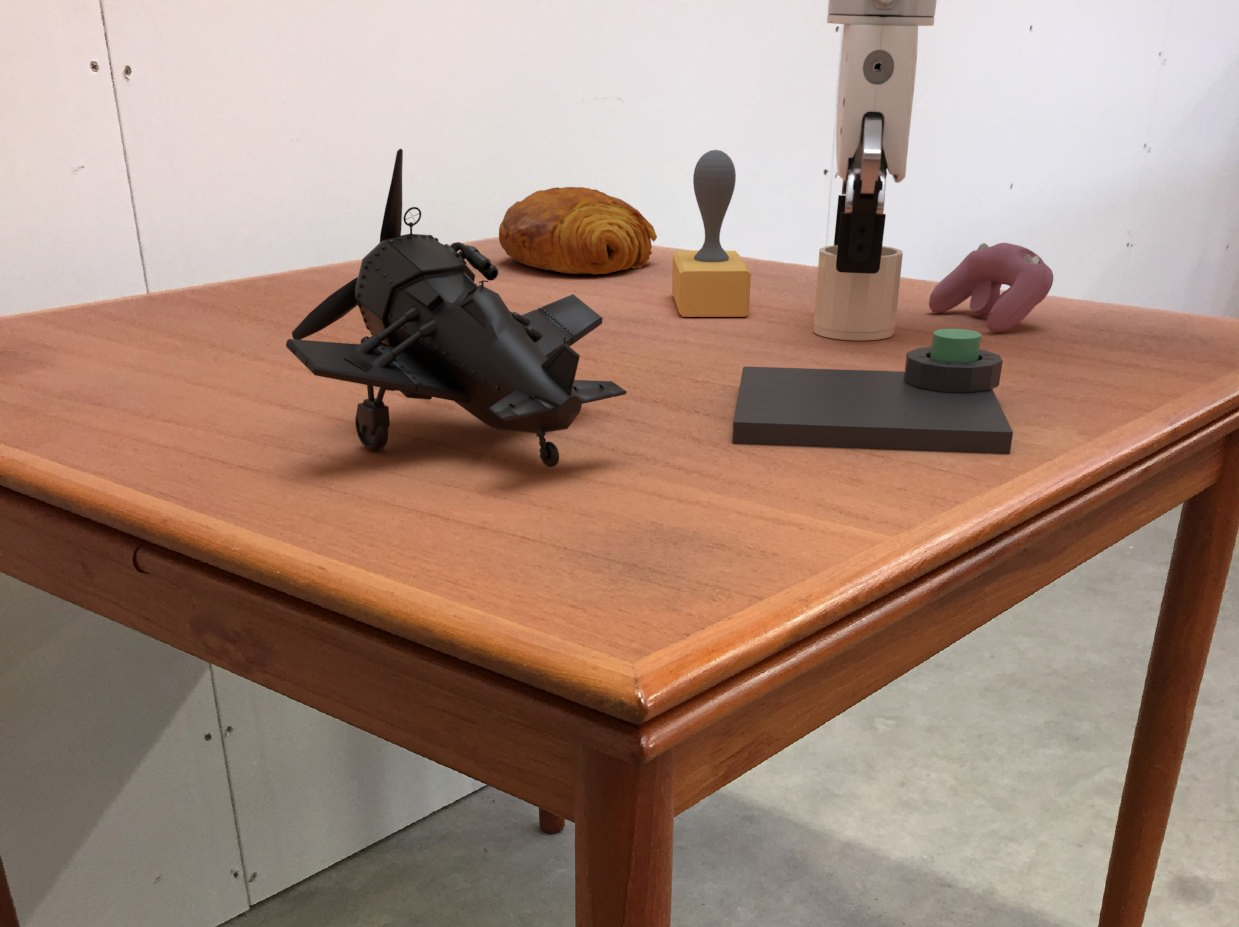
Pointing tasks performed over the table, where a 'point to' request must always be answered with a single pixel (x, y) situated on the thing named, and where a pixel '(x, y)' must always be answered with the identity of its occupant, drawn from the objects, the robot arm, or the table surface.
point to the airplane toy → (451, 338)
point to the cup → (857, 298)
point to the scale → (877, 407)
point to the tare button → (955, 345)
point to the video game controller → (995, 284)
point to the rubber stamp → (712, 250)
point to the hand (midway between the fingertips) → (855, 261)
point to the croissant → (576, 232)
